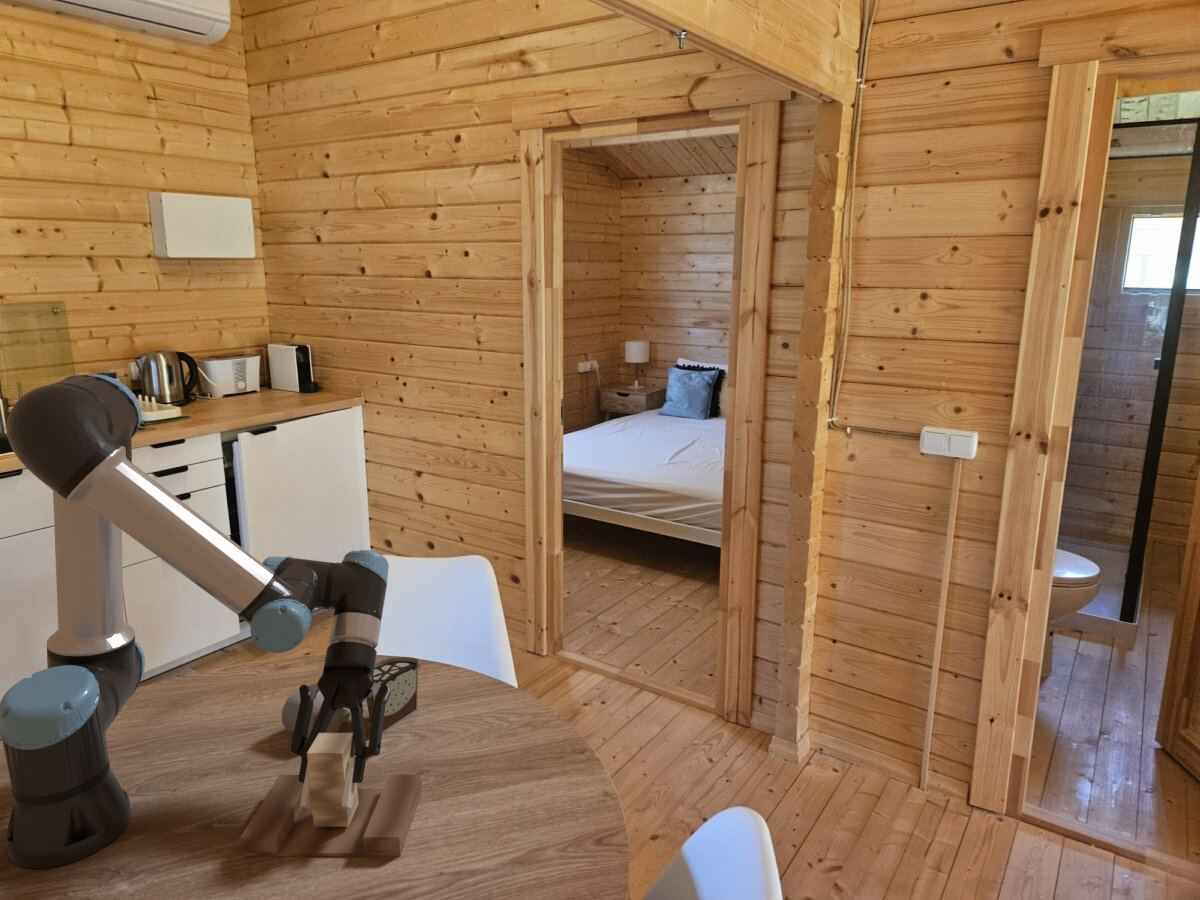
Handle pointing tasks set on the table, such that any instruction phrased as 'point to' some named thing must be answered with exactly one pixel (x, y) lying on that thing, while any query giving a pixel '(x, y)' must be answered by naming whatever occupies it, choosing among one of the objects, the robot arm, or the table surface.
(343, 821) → the tall wooden block
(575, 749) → the table surface
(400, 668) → the food container
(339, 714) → the ceramic mug
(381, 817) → the cradle
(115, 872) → the table surface
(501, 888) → the table surface
